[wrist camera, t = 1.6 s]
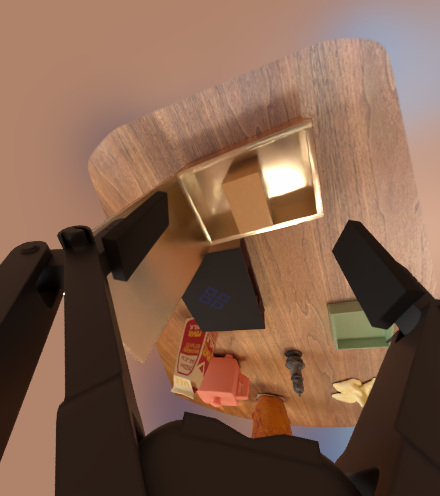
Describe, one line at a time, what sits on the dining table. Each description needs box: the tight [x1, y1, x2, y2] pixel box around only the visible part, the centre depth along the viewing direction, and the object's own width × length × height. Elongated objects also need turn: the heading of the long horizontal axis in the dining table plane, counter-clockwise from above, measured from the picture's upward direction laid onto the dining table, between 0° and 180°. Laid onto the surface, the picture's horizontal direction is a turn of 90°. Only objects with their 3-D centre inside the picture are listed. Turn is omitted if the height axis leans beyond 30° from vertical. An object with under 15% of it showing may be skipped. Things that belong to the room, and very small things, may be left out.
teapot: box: [197, 354, 250, 407], centre depth 70 cm, size 22×13×14 cm, turn 104°
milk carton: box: [171, 317, 218, 399], centre depth 56 cm, size 9×9×20 cm
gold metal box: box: [174, 116, 324, 246], centre depth 33 cm, size 20×14×7 cm
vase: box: [252, 394, 292, 438], centre depth 76 cm, size 21×20×30 cm
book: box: [182, 238, 265, 332], centre depth 48 cm, size 17×25×7 cm
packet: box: [222, 156, 273, 235], centre depth 31 cm, size 5×8×10 cm, turn 22°
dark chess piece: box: [285, 350, 305, 397], centre depth 61 cm, size 6×6×12 cm
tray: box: [327, 301, 395, 350], centre depth 51 cm, size 13×16×3 cm
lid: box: [91, 175, 210, 363], centre depth 27 cm, size 21×14×6 cm
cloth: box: [332, 378, 376, 407], centre depth 70 cm, size 22×19×6 cm
